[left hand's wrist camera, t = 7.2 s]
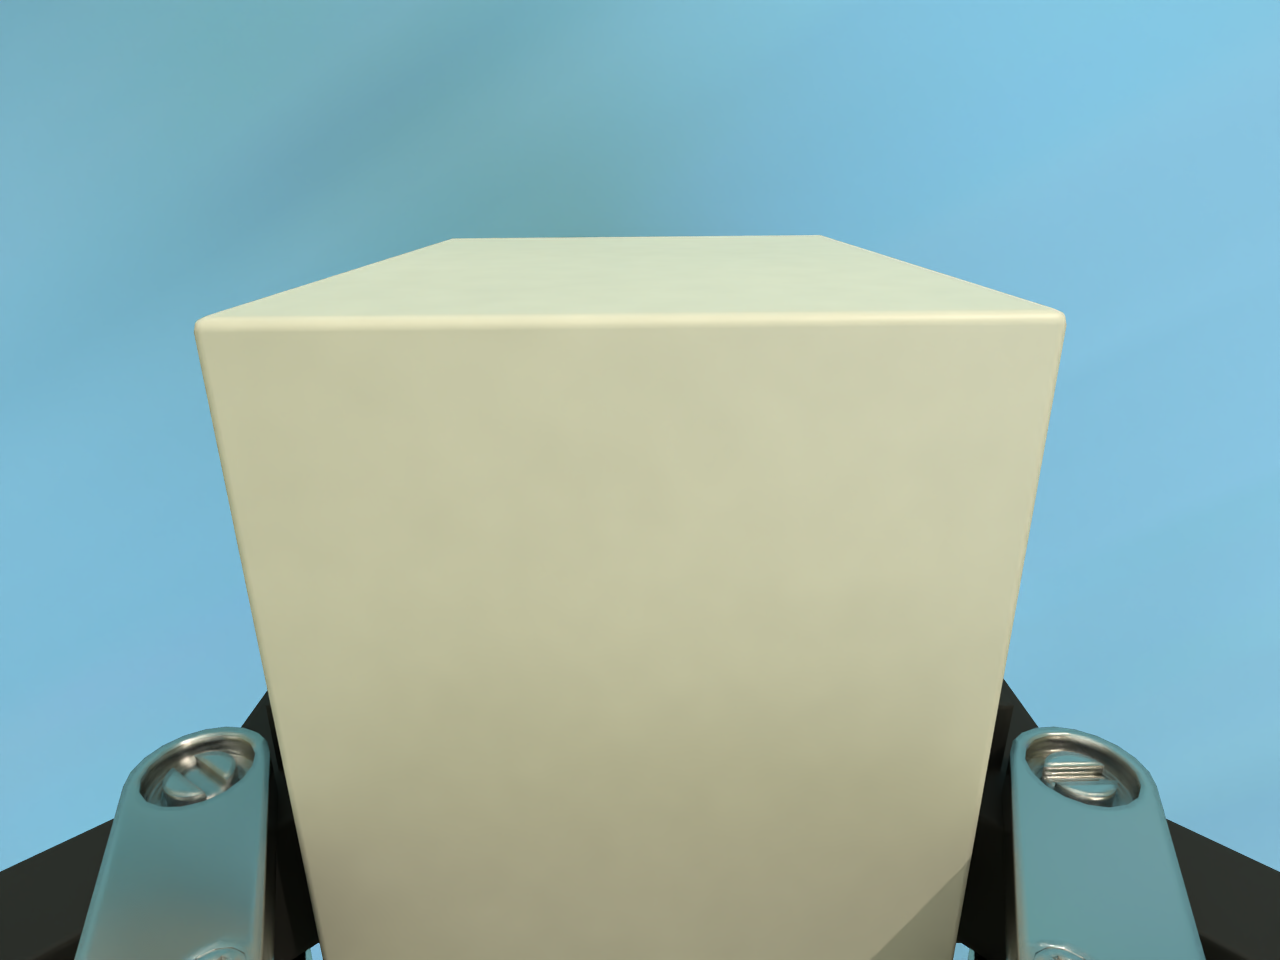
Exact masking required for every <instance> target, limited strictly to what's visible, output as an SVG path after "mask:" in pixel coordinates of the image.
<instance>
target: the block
mask: <svg viewBox="0 0 1280 960" xmlns="http://www.w3.org/2000/svg"><path fill="white" fill-rule="evenodd" d="M1065 330H1066V319H1065V315H1064V314H1063V312H1060V311H1058V310H1056V309H1053V308H1050V307H1047V306H1044V305H1041V304H1038V303H1034V302H1031V301H1028V300H1025V299H1022V298H1018V297H1015V296H1012V295H1009V294H1006V293H1003V292H999V291H996V290H993V289H990V288H987V287H983V286H980V285H977V284H974V283H971V282H968V281H964V280H961V279H958V278H955V277H952V276H948V275H945V274H942V273H939V272H936V271H933V270H929V269H926V268H923V267H920V266H917V265H914V264H910V263H907V262H904V261H901V260H898V259H894V258H891V257H888V256H885V255H882V254H879V253H875V252H872V251H869V250H866V249H863V248H859V247H856V246H853V245H850V244H847V243H844V242H840V241H837V240H834V239H831V238H828V237H824V236H821V235H789V236H680V237H572V238H463V239H450V240H446V241H443V242H440V243H437V244H434V245H430V246H427V247H424V248H421V249H418V250H415V251H411V252H408V253H405V254H402V255H399V256H395V257H392V258H389V259H386V260H383V261H380V262H376V263H373V264H370V265H367V266H364V267H360V268H357V269H354V270H351V271H348V272H345V273H341V274H338V275H335V276H332V277H329V278H326V279H322V280H319V281H316V282H313V283H310V284H306V285H303V286H300V287H297V288H294V289H291V290H287V291H284V292H281V293H278V294H275V295H271V296H268V297H265V298H262V299H259V300H256V301H252V302H249V303H246V304H243V305H240V306H236V307H233V308H230V309H227V310H224V311H221V312H217V313H214V314H211V315H208V316H205V317H203V318H201V319H199V320H197V321H196V323H195V329H194V335H195V340H196V344H197V349H198V354H199V359H200V364H201V369H202V374H203V379H204V383H205V388H206V393H207V398H208V403H209V408H210V413H211V417H212V422H213V427H214V432H215V437H216V442H217V447H218V451H219V456H220V461H221V466H222V471H223V476H224V481H225V485H226V490H227V495H228V500H229V505H230V510H231V515H232V519H233V524H234V529H235V534H236V539H237V544H238V549H239V553H240V558H241V563H242V568H243V573H244V578H245V583H246V587H247V592H248V597H249V602H250V607H251V612H252V617H253V621H254V626H255V631H256V636H257V641H258V646H259V651H260V655H261V660H262V665H263V670H264V675H265V680H266V685H267V689H268V694H269V699H270V704H271V709H272V714H273V719H274V723H275V728H276V733H277V738H278V743H279V748H280V753H281V757H282V762H283V767H284V772H285V777H286V782H287V787H288V792H289V796H290V801H291V806H292V811H293V816H294V821H295V826H296V830H297V835H298V840H299V845H300V850H301V855H302V860H303V864H304V869H305V874H306V879H307V884H308V889H309V894H310V898H311V903H312V908H313V913H314V918H315V923H316V928H317V932H318V937H319V942H320V947H321V952H322V957H323V960H953V956H954V951H955V945H956V940H957V934H958V928H959V923H960V917H961V912H962V906H963V900H964V895H965V889H966V884H967V878H968V872H969V867H970V861H971V856H972V850H973V844H974V839H975V833H976V828H977V822H978V816H979V811H980V805H981V800H982V794H983V788H984V783H985V777H986V772H987V766H988V760H989V755H990V749H991V744H992V738H993V732H994V727H995V721H996V716H997V710H998V704H999V699H1000V693H1001V688H1002V682H1003V677H1004V671H1005V665H1006V660H1007V654H1008V649H1009V643H1010V637H1011V632H1012V626H1013V621H1014V615H1015V609H1016V604H1017V598H1018V593H1019V587H1020V581H1021V576H1022V570H1023V565H1024V559H1025V553H1026V548H1027V542H1028V537H1029V531H1030V525H1031V520H1032V514H1033V509H1034V503H1035V497H1036V492H1037V486H1038V481H1039V475H1040V469H1041V464H1042V458H1043V453H1044V447H1045V441H1046V436H1047V430H1048V425H1049V419H1050V413H1051V408H1052V402H1053V397H1054V391H1055V385H1056V380H1057V374H1058V369H1059V363H1060V357H1061V352H1062V346H1063V341H1064V335H1065Z"/></svg>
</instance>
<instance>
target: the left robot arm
mask: <svg viewBox="0 0 1280 960" xmlns="http://www.w3.org/2000/svg"><path fill="white" fill-rule="evenodd" d="M317 943H320V942H319V937H318V932H317V928H316V923H315V918H314V913H313V908H312V903H311V898H310V894H309V889H308V884H307V879H306V874H305V869H304V864H303V860H302V855H301V850H300V845H299V840H298V835H297V830H296V826H295V821H294V816H293V811H292V806H291V801H290V796H289V792H288V787H287V782H286V777H285V772H284V767H283V762H282V757H281V753H280V748H279V743H278V738H277V733H276V728H275V723H274V719H273V714H272V709H271V704H270V699H269V694H268V690H267V692H266V693H265V695H264V696H263V697H262V699H261V700H260V702H259V703H258V704H257V706H256V707H255V709H254V710H253V711H252V713H251V714H250V716H249V717H248V718H247V720H246V721H245V723H244V724H243V725H242V727H241V728H238V727H220V728H213V729H205V730H202V731H198V732H195V733H192V734H188V735H185V736H182V737H180V738H178V739H176V740H174V741H172V742H170V743H167V744H165V745H163V746H161V747H160V748H159V749H157V750H156V751H154V752H153V753H151V754H150V755H148V756H147V757H145V758H144V759H143V760H142V761H141V762H140V763H139V764H138V765H137V766H136V767H135V768H134V769H133V770H132V771H131V773H130V774H129V776H128V778H127V780H126V782H125V784H124V786H123V789H122V792H121V796H120V800H119V803H118V807H117V810H116V814H115V817H114V819H112V820H110V821H108V822H105V823H103V824H101V825H99V826H97V827H95V828H93V829H91V830H88V831H86V832H84V833H82V834H80V835H78V836H76V837H73V838H71V839H69V840H67V841H65V842H63V843H61V844H59V845H56V846H54V847H52V848H50V849H48V850H46V851H44V852H42V853H39V854H37V855H35V856H33V857H31V858H29V859H27V860H24V861H22V862H20V863H18V864H16V865H14V866H12V867H10V868H7V869H5V870H3V871H1V872H0V960H312V955H311V950H310V948H311V947H313V946H314V945H316V944H317ZM956 943H962V944H964V945H965V946H967V947H968V948H970V950H969V955H968V960H1280V872H1279V871H1276V870H1274V869H1272V868H1270V867H1268V866H1266V865H1264V864H1262V863H1259V862H1257V861H1255V860H1253V859H1251V858H1249V857H1247V856H1244V855H1242V854H1240V853H1238V852H1236V851H1234V850H1232V849H1230V848H1227V847H1225V846H1223V845H1221V844H1219V843H1217V842H1215V841H1212V840H1210V839H1208V838H1206V837H1204V836H1202V835H1200V834H1198V833H1195V832H1193V831H1191V830H1189V829H1187V828H1185V827H1183V826H1180V825H1178V824H1176V823H1174V822H1172V821H1170V820H1168V819H1166V817H1165V814H1164V810H1163V807H1162V803H1161V800H1160V796H1159V792H1158V789H1157V786H1156V784H1155V782H1154V780H1153V778H1152V776H1151V774H1150V773H1149V771H1148V770H1147V769H1146V768H1145V767H1144V766H1143V765H1142V764H1141V763H1140V762H1139V761H1138V760H1137V759H1136V758H1135V757H1133V756H1132V755H1130V754H1129V753H1127V752H1126V751H1124V750H1123V749H1121V748H1120V747H1119V746H1117V745H1115V744H1113V743H1111V742H1108V741H1106V740H1104V739H1102V738H1100V737H1098V736H1095V735H1092V734H1088V733H1085V732H1082V731H1078V730H1075V729H1067V728H1060V727H1042V728H1038V726H1037V725H1036V723H1035V722H1034V721H1033V719H1032V718H1031V716H1030V715H1029V714H1028V712H1027V711H1026V709H1025V708H1024V707H1023V705H1022V704H1021V702H1020V701H1019V700H1018V698H1017V697H1016V695H1015V694H1014V693H1013V691H1012V690H1011V689H1010V687H1009V686H1008V684H1007V683H1006V682H1005V680H1004V679H1003V682H1002V688H1001V693H1000V699H999V704H998V710H997V716H996V721H995V727H994V732H993V738H992V744H991V749H990V755H989V760H988V766H987V772H986V777H985V783H984V788H983V794H982V800H981V805H980V811H979V816H978V822H977V828H976V833H975V839H974V844H973V850H972V856H971V861H970V867H969V872H968V878H967V884H966V889H965V895H964V900H963V906H962V912H961V917H960V923H959V928H958V934H957V940H956Z"/></svg>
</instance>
